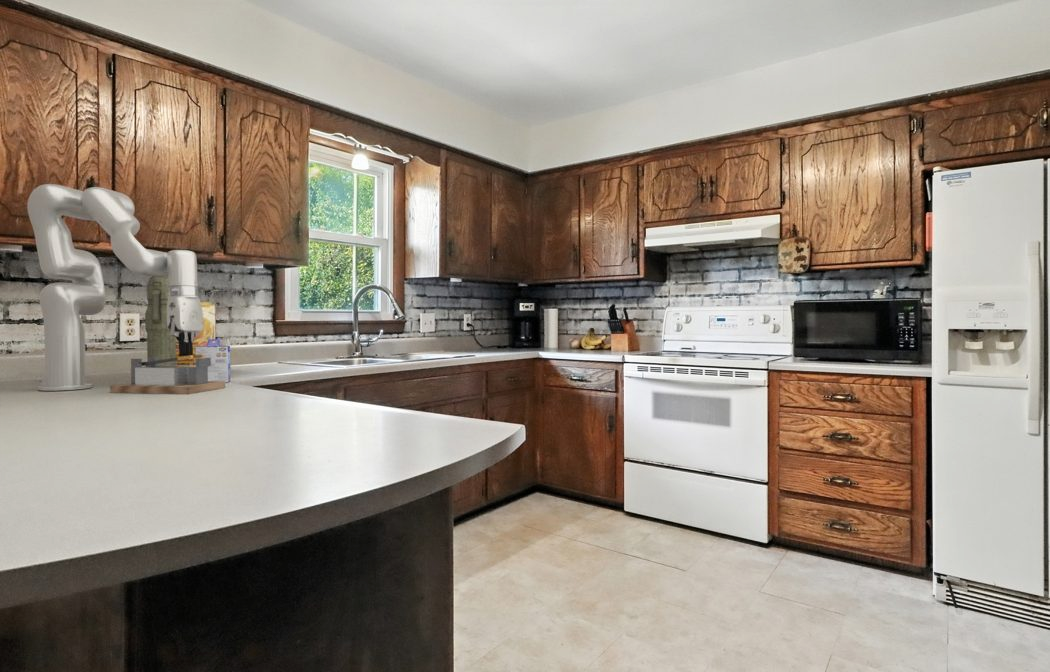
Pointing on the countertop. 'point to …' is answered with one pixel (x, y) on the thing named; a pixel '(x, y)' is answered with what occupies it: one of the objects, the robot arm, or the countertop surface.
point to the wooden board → (167, 388)
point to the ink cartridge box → (216, 360)
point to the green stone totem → (158, 322)
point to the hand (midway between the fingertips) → (186, 356)
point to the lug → (199, 371)
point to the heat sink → (162, 375)
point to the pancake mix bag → (202, 332)
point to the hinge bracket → (138, 363)
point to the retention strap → (173, 359)
